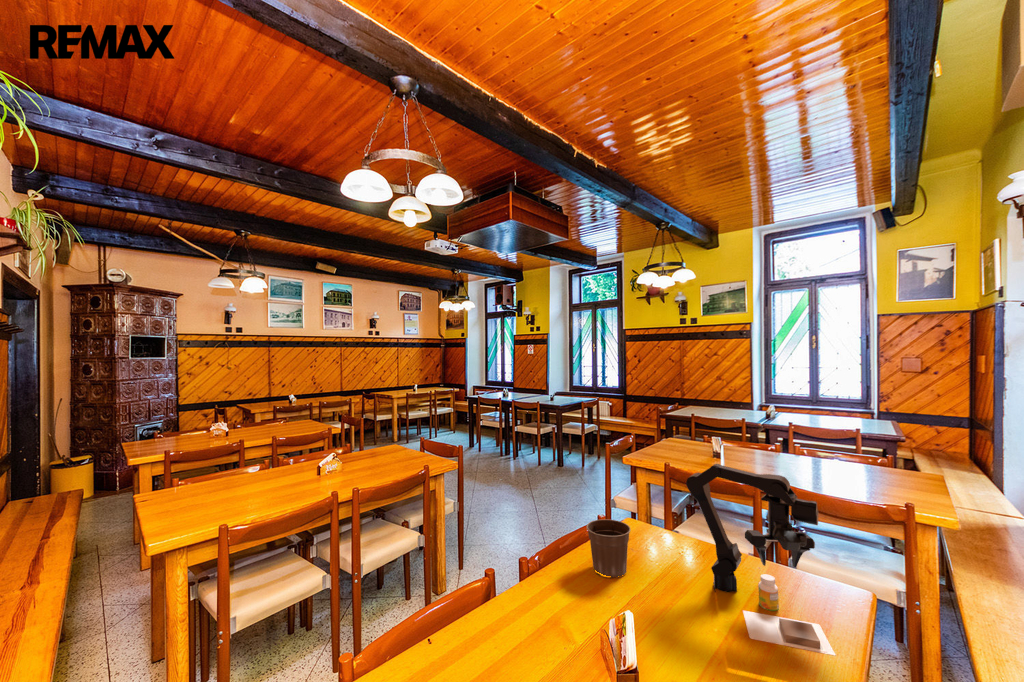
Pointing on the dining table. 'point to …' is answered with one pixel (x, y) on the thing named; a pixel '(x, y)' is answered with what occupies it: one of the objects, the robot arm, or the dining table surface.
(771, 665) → the dining table surface
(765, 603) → the supplement bottle
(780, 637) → the white flat board
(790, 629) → the grey plinth
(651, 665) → the dining table surface
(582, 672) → the dining table surface
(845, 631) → the dining table surface
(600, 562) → the plant pot
